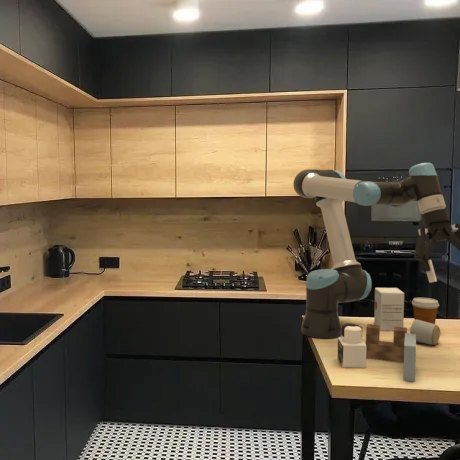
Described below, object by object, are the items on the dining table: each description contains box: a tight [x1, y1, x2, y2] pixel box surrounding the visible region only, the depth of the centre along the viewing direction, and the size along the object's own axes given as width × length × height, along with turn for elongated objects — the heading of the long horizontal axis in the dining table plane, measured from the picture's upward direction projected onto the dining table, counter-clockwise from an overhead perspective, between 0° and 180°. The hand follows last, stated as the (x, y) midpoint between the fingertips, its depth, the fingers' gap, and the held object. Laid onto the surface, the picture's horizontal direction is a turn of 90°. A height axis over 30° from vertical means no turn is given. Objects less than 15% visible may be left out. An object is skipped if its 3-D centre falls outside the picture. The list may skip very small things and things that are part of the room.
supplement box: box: [373, 287, 405, 332], centre depth 175 cm, size 9×9×15 cm
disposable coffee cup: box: [411, 297, 440, 325], centre depth 170 cm, size 10×10×12 cm
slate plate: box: [402, 332, 417, 383], centre depth 130 cm, size 3×12×10 cm, turn 158°
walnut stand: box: [365, 323, 408, 364], centre depth 142 cm, size 12×4×10 cm, turn 68°
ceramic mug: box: [409, 319, 441, 346], centre depth 158 cm, size 11×8×8 cm
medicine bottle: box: [337, 323, 367, 369], centre depth 138 cm, size 7×7×12 cm
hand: (452, 279), depth 134 cm, fingers open, 13 cm apart
